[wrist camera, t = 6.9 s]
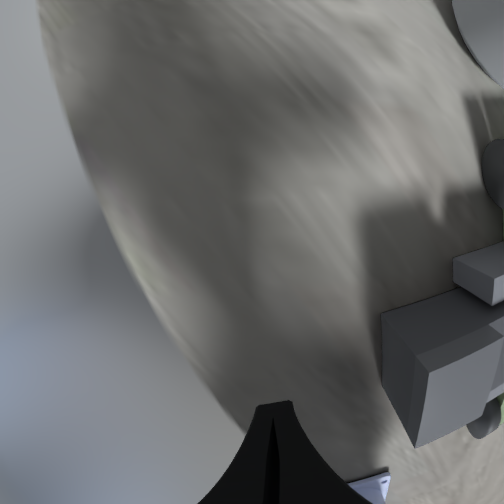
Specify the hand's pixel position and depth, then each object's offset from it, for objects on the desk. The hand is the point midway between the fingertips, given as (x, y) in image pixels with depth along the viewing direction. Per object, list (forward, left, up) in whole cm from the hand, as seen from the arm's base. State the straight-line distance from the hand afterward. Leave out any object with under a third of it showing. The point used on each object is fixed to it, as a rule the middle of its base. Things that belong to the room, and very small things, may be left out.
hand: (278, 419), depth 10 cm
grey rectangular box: (0, -9, -3) cm, 10 cm away
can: (+15, -16, -3) cm, 23 cm away
